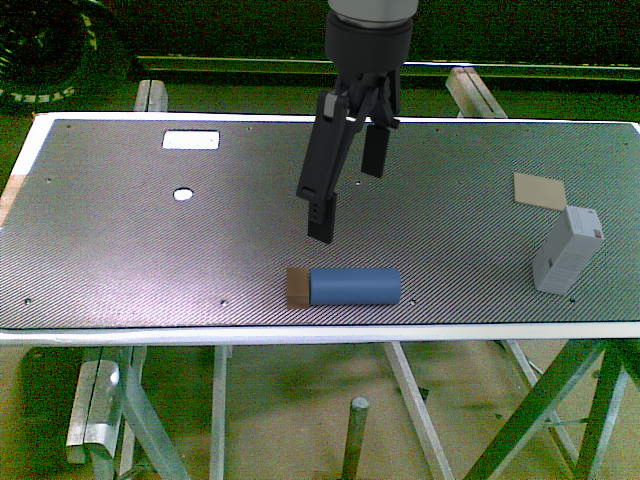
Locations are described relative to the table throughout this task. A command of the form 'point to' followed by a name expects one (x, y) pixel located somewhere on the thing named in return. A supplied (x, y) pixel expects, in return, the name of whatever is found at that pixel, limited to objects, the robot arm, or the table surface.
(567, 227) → the cosmetic box
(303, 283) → the brown rectangular block
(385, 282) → the tube
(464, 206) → the table surface
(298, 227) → the table surface
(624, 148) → the table surface
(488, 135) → the table surface
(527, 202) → the mat
